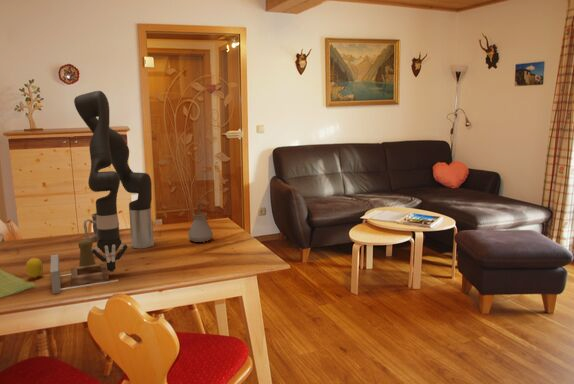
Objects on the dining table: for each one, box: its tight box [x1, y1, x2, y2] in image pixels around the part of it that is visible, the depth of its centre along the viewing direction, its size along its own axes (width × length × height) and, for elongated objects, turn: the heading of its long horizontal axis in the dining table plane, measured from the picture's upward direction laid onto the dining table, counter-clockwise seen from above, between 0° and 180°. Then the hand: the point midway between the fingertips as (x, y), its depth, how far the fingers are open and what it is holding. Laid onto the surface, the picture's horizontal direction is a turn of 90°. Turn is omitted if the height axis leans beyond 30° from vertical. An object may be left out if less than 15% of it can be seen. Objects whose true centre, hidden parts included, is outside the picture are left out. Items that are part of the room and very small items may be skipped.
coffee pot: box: [187, 202, 214, 243], centre depth 224 cm, size 21×12×15 cm, turn 12°
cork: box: [77, 238, 96, 267], centre depth 185 cm, size 6×6×11 cm
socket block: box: [70, 262, 110, 287], centre depth 172 cm, size 12×12×3 cm
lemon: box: [25, 257, 44, 279], centre depth 173 cm, size 6×6×8 cm
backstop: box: [49, 253, 119, 295], centre depth 171 cm, size 21×20×8 cm
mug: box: [83, 212, 98, 242], centre depth 222 cm, size 16×11×12 cm
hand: (111, 271), depth 175 cm, fingers closed
